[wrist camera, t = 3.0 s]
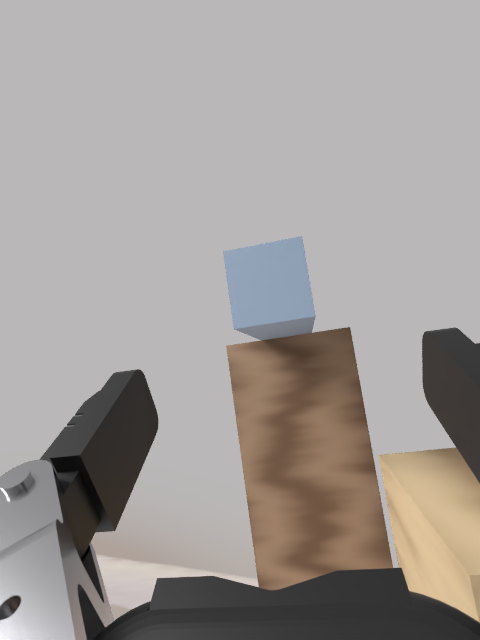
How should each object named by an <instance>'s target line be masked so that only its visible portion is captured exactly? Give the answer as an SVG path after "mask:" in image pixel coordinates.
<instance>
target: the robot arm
mask: <svg viewBox="0 0 480 640" xmlns="http://www.w3.org/2000/svg"><path fill="white" fill-rule="evenodd" d="M422 350H423V351H422V358H423V360H422V362H423V389H424V393H425V397H426V400H427V402H428V404H429V406H430V407H431V409H432V410H433V412H434V414H435V415H436V416H437V418H438V420H439V421H440V423H441V424H442V426H443V427H444V429H445V431H446V432H447V434H448V435H449V437H450V438H451V440H452V441H453V443H454V444H455V446H456V448H457V449H458V451H459V452H460V454H461V455H462V457H463V458H464V460H465V462H466V463H467V465H468V466H469V468H470V469H471V471H472V472H473V474H474V475H475V477H476V479H477V480H478V482H479V483H480V343H479V344H475V343H473V342H472V341H471V340H470V339H469V338H468V337H467V336H466V335H464V334H463V333H462V332H461V331H460V330H459V329H458V328H449V329H441V330H434V331H426V332H425V333H424V335H423V339H422ZM67 425H68V426H67V427H65V428H64V429H63V430H62V432H61V433H60V434H59V436H58V437H57V438H56V439H55V441H54V442H53V443H52V444H51V446H50V447H49V448H48V450H47V451H46V452H45V453H44V455H43V456H42V457H41V459H40V460H34V461H30V462H26V463H23V464H21V465H19V466H17V467H15V468H13V469H11V470H9V471H8V472H6V473H5V474H3V475H2V476H1V477H0V640H480V623H479V622H478V621H477V620H475V619H474V618H472V617H470V616H468V615H467V614H465V613H463V612H462V611H460V610H458V609H457V608H454V607H452V606H450V605H448V604H446V603H444V602H442V601H440V600H437V599H434V598H432V597H429V596H426V595H423V594H420V593H416V592H412V591H409V589H408V586H407V583H406V580H405V576H404V573H403V570H402V568H383V569H360V570H338V571H334V572H331V573H328V574H325V575H322V576H319V577H316V578H313V579H310V580H306V581H303V582H300V583H297V584H294V585H291V586H288V587H285V588H282V589H278V590H267V589H263V588H259V587H255V586H251V585H247V584H243V583H239V582H235V581H231V580H227V579H223V578H219V577H215V576H202V577H179V578H157V581H156V585H155V589H154V592H153V596H152V600H151V601H150V602H147V603H145V604H143V605H140V606H138V607H136V608H134V609H132V610H130V611H129V612H127V613H125V614H124V615H122V616H120V617H119V618H117V619H116V620H115V621H114V618H113V615H112V612H111V608H110V605H109V601H108V597H107V594H106V590H105V587H104V583H103V579H102V576H101V572H100V569H99V565H98V561H97V558H96V554H95V551H94V548H93V546H92V544H91V540H92V538H93V536H94V534H95V532H106V531H115V530H116V527H117V525H118V522H119V520H120V518H121V516H122V513H123V511H124V508H125V506H126V504H127V501H128V499H129V497H130V494H131V492H132V490H133V487H134V485H135V483H136V480H137V478H138V476H139V473H140V471H141V469H142V466H143V464H144V462H145V459H146V457H147V455H148V452H149V450H150V447H151V445H152V443H153V441H154V438H155V436H156V433H157V430H158V415H157V411H156V408H155V405H154V402H153V399H152V396H151V393H150V390H149V387H148V384H147V381H146V378H145V375H144V374H143V372H142V371H141V370H131V371H124V372H116V373H114V374H113V375H112V376H111V377H110V379H109V380H108V381H107V383H106V384H105V385H104V387H103V388H102V389H101V391H98V392H97V393H96V394H95V395H93V396H92V397H91V398H89V399H88V400H87V401H85V402H84V403H83V405H82V406H81V407H80V409H79V410H78V411H77V413H76V414H75V416H74V417H73V418H72V419H71V420H70V422H69V423H68V424H67Z"/></svg>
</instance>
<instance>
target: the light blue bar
mask: <svg viewBox="0 0 480 640" xmlns="http://www.w3.org/2000/svg"><path fill="white" fill-rule="evenodd" d="M223 253H224V260H225V268H226V274H227V282H228V289H229V297H230V303H231V311H232V318H233V325H234V329H235V330H238V331H240V332H242V333H245V334H248V335H250V336H252V337H255V338H257V339H260V340H269V339H275V338H282V337H288V336H295V335H302V334H308V333H312V329H313V324H314V320H315V311H314V305H313V299H312V293H311V287H310V281H309V275H308V269H307V263H306V258H305V251H304V245H303V239H302V236H301V237H296V238H291V239H286V240H281V241H276V242H270V243H265V244H260V245H255V246H250V247H244V248H239V249H234V250H229V251H224V252H223Z"/></svg>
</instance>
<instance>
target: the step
mask: <svg viewBox="0 0 480 640" xmlns="http://www.w3.org/2000/svg"><path fill="white" fill-rule="evenodd" d="M379 459H380V465H381V470H382V476H383V481H384V487H385V492H386V498H387V503H388V509H389V514H390V520H391V525H392V531H393V537H394V542H395V548H396V553H397V558H398V564H399V568H402V570H403V573H404V576H405V580H406V583H407V586H408V589H409V591H412V592H416V593H420V594H423V595H426V596H429V597H432V598H434V599H437V600H440V601H442V602H444V603H446V604H448V605H450V606H452V607H454V608H457V609H458V610H460V611H462V612H463V613H465V614H467V615H468V616H470V617H472V618H474V619H475V620H477V621H478V622H479V623H480V483H479V482H478V480H477V479H476V477H475V475H474V474H473V472H472V471H471V469H470V468H469V466H468V465H467V463H466V462H465V460H464V458H463V457H462V455H461V454H460V452H459V451H458V449H457V448H448V449H437V450H427V451H417V452H406V453H395V454H385V455H379Z"/></svg>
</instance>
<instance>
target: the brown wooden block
mask: <svg viewBox="0 0 480 640" xmlns="http://www.w3.org/2000/svg"><path fill="white" fill-rule="evenodd" d="M227 354H228V361H229V368H230V376H231V384H232V391H233V398H234V406H235V413H236V421H237V428H238V436H239V443H240V450H241V458H242V465H243V473H244V480H245V487H246V495H247V502H248V510H249V517H250V525H251V532H252V539H253V547H254V554H255V562H256V568H257V576H258V584H259V588H263V589H267V590H278V589H282V588H285V587H288V586H291V585H294V584H297V583H300V582H303V581H306V580H310V579H313V578H316V577H319V576H322V575H325V574H328V573H331V572H334V571H338V570H360V569H383V568H393V565H392V560H391V554H390V549H389V543H388V537H387V531H386V526H385V521H384V515H383V509H382V503H381V498H380V492H379V487H378V481H377V476H376V470H375V465H374V459H373V454H372V448H371V442H370V436H369V431H368V426H367V420H366V414H365V408H364V403H363V397H362V392H361V386H360V381H359V375H358V370H357V364H356V358H355V353H354V347H353V342H352V336H351V330H350V327H348V328H342V329H335V330H328V331H321V332H315V333H308V334H302V335H295V336H288V337H282V338H275V339H269V340H262V341H255V342H249V343H243V344H235V345H229V346H227Z"/></svg>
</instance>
